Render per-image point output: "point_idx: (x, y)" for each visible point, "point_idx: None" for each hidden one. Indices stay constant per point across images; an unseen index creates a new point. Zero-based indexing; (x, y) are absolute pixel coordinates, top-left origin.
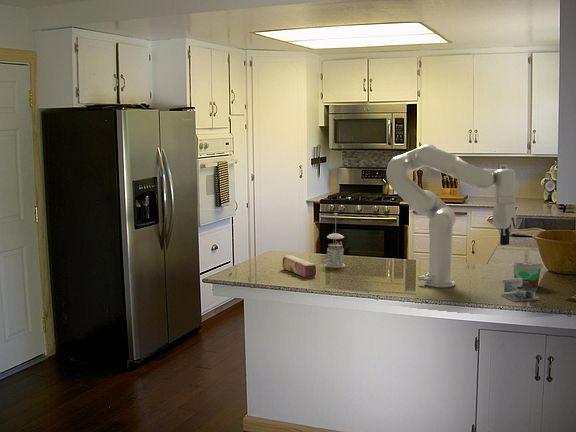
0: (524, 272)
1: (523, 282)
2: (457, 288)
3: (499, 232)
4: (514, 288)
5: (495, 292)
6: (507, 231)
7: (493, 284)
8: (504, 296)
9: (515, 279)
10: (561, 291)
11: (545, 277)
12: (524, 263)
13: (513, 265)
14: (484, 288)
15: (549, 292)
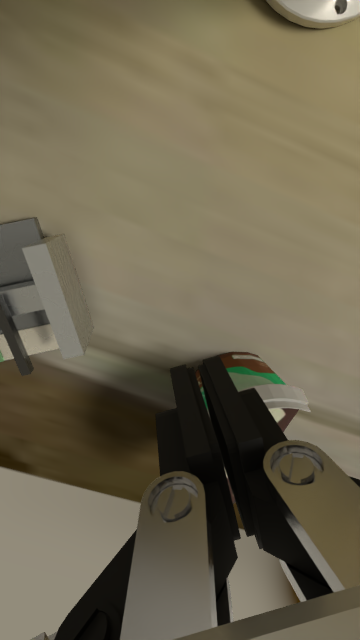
0: None
1: (199, 380)
2: (212, 8)
3: (334, 467)
4: (23, 288)
5: (113, 214)
6: (71, 630)
7: (264, 262)
8: (7, 223)
9: (49, 318)
10: (124, 472)
11: None
12: None
13: (267, 389)
14: (195, 186)
15: (110, 433)
